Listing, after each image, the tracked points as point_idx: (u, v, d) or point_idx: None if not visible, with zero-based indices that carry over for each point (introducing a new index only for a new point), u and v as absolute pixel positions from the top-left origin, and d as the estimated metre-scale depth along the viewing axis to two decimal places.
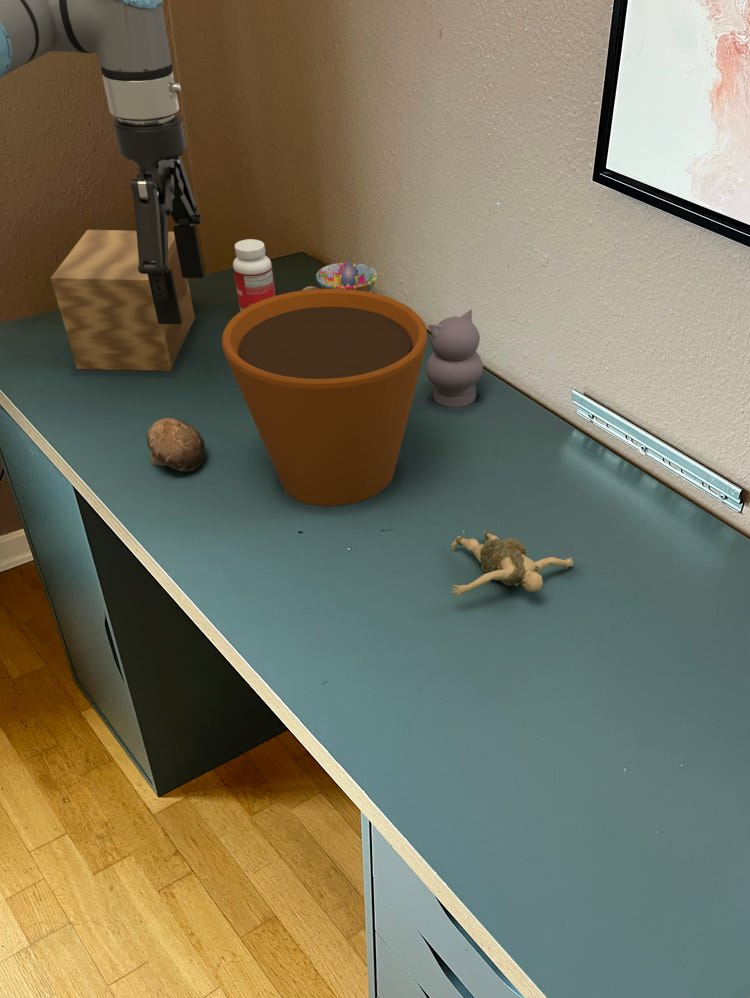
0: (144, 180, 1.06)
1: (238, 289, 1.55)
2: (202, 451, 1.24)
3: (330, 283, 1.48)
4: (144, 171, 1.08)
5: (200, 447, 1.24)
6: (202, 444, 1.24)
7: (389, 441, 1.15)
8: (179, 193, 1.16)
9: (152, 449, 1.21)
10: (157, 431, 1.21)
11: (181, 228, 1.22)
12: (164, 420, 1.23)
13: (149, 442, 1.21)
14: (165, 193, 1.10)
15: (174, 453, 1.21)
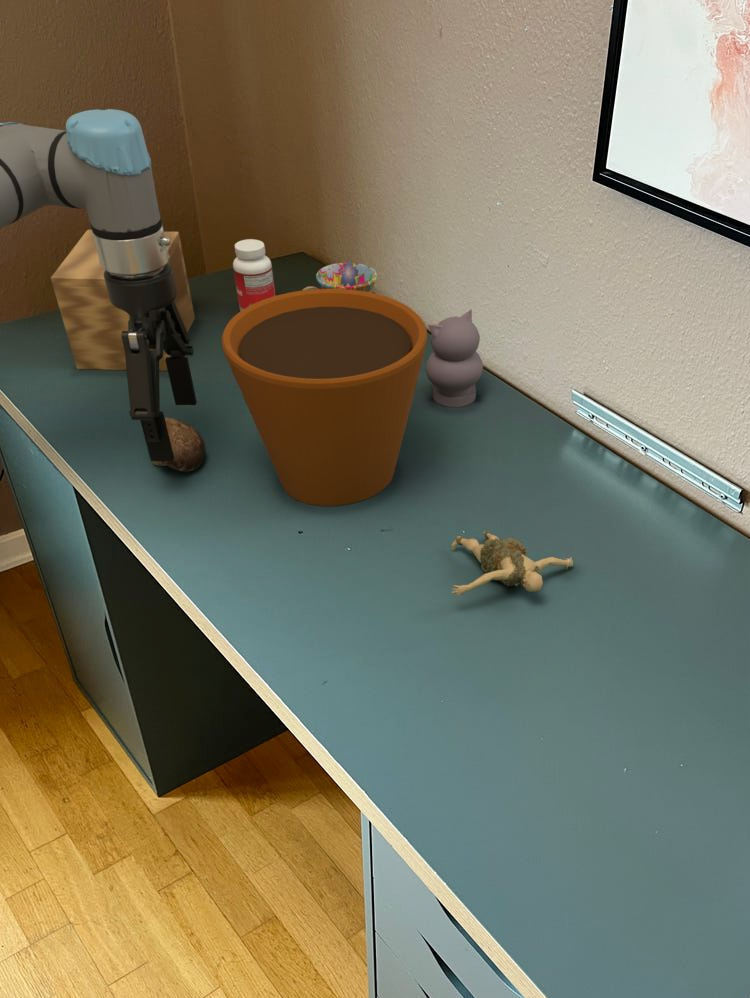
0: (135, 332, 1.07)
1: (238, 289, 1.55)
2: (202, 451, 1.24)
3: (330, 283, 1.48)
4: (135, 321, 1.08)
5: (200, 447, 1.24)
6: (202, 444, 1.24)
7: (389, 440, 1.15)
8: (171, 332, 1.16)
9: None
10: None
11: (173, 360, 1.23)
12: None
13: None
14: (156, 339, 1.11)
15: (174, 453, 1.21)
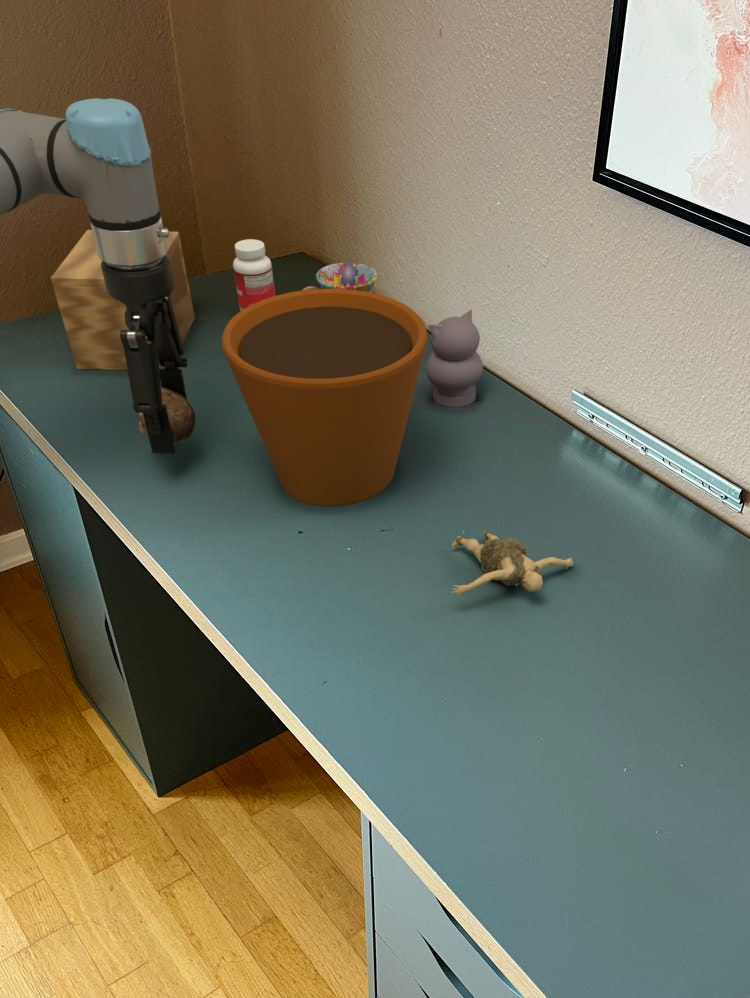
0: (133, 332, 1.06)
1: (238, 289, 1.55)
2: (193, 422, 1.21)
3: (330, 283, 1.48)
4: (131, 312, 1.08)
5: (191, 418, 1.21)
6: (193, 415, 1.22)
7: (389, 441, 1.15)
8: (166, 330, 1.15)
9: (141, 419, 1.18)
10: None
11: (167, 372, 1.21)
12: None
13: None
14: (154, 333, 1.11)
15: None
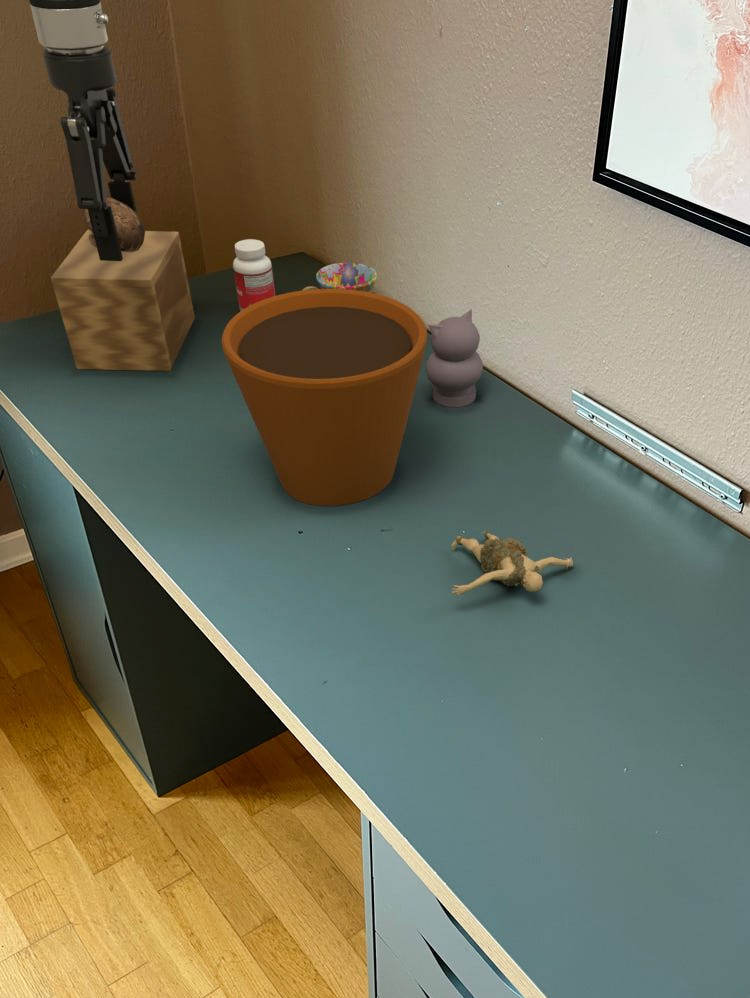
0: (73, 119, 1.09)
1: (238, 289, 1.55)
2: (141, 233, 1.23)
3: (330, 283, 1.48)
4: (73, 102, 1.10)
5: (139, 228, 1.23)
6: (141, 226, 1.24)
7: (389, 441, 1.15)
8: (112, 133, 1.17)
9: (89, 225, 1.20)
10: None
11: (116, 184, 1.23)
12: None
13: (86, 218, 1.20)
14: (97, 127, 1.13)
15: None
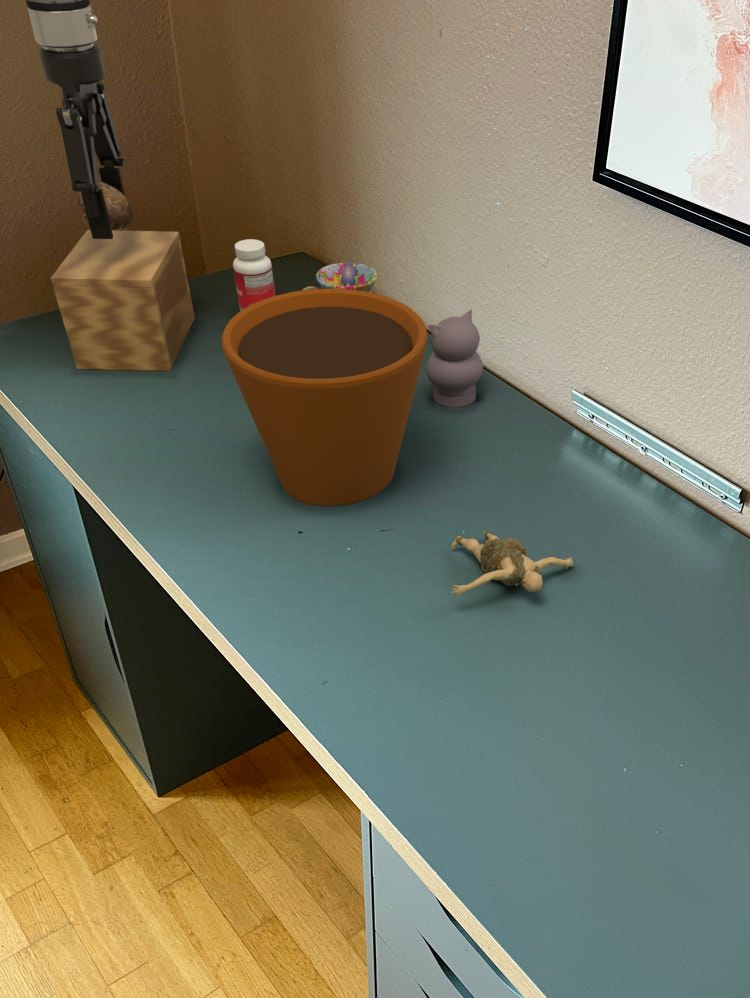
0: (67, 109, 1.21)
1: (238, 289, 1.55)
2: (130, 213, 1.36)
3: (330, 283, 1.48)
4: (67, 94, 1.23)
5: (128, 209, 1.36)
6: (130, 207, 1.36)
7: (389, 441, 1.15)
8: (101, 123, 1.30)
9: (82, 206, 1.33)
10: None
11: (106, 169, 1.36)
12: None
13: (80, 200, 1.33)
14: (88, 117, 1.26)
15: None
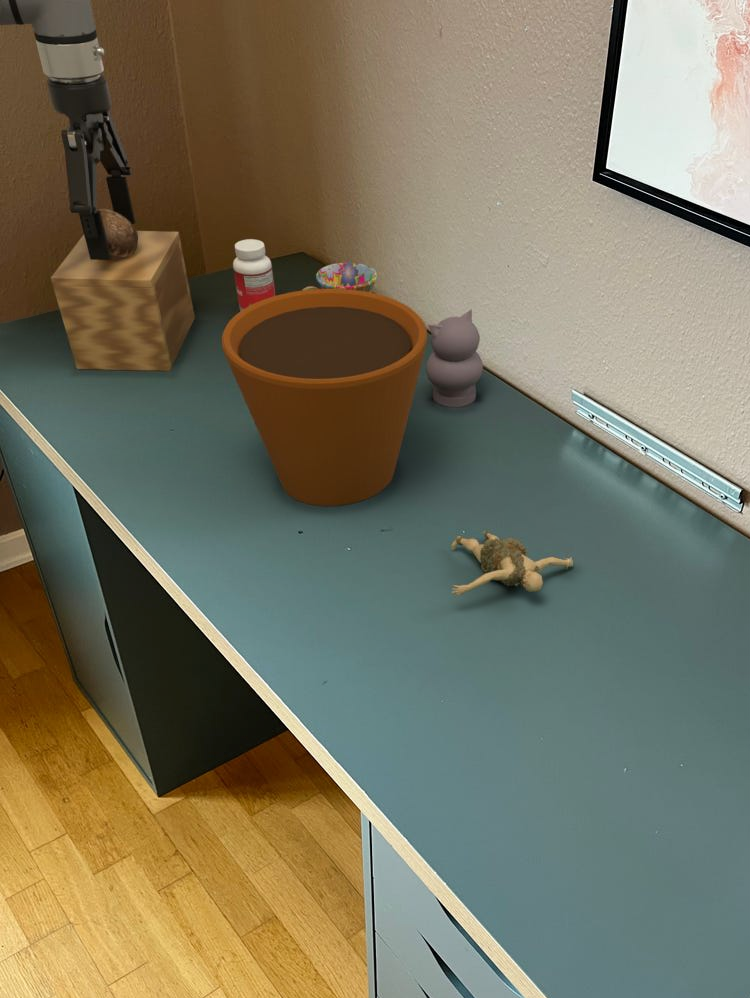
0: (73, 131, 1.23)
1: (238, 289, 1.55)
2: (135, 239, 1.39)
3: (330, 283, 1.48)
4: (74, 124, 1.25)
5: (133, 235, 1.38)
6: (135, 233, 1.39)
7: (389, 441, 1.15)
8: (108, 146, 1.33)
9: None
10: None
11: (113, 178, 1.39)
12: (100, 209, 1.37)
13: None
14: (93, 144, 1.28)
15: (108, 236, 1.35)
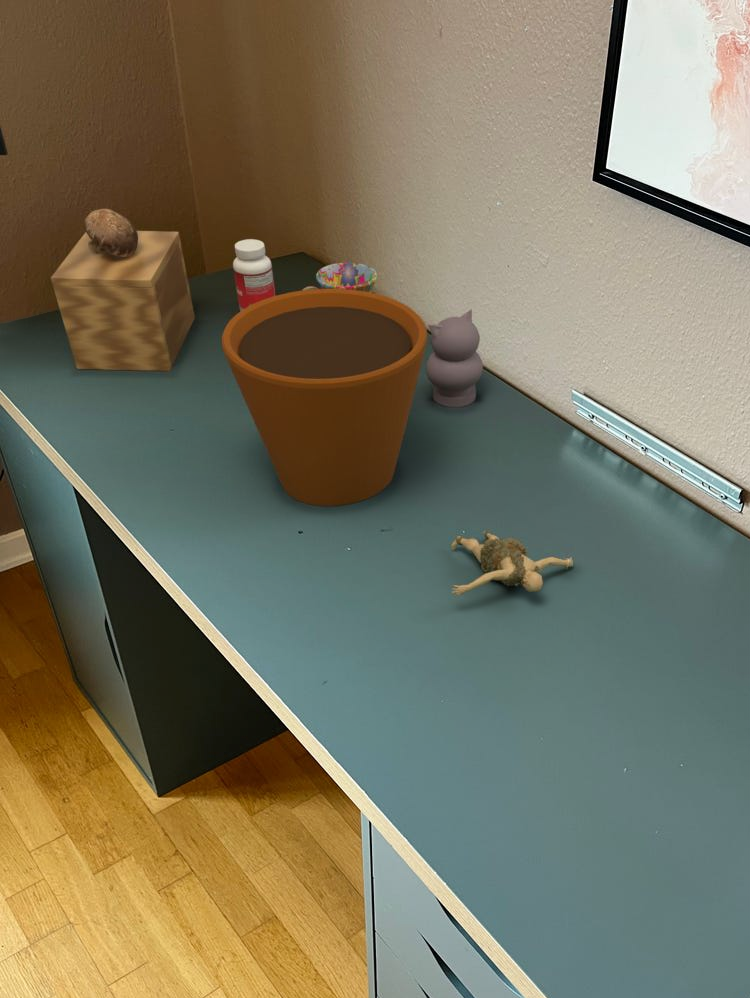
0: None
1: (238, 289, 1.55)
2: (135, 239, 1.39)
3: (330, 283, 1.48)
4: None
5: (133, 235, 1.38)
6: (135, 233, 1.39)
7: (389, 441, 1.15)
8: None
9: (88, 233, 1.36)
10: (93, 217, 1.36)
11: None
12: (100, 209, 1.37)
13: (86, 227, 1.36)
14: None
15: (108, 236, 1.35)
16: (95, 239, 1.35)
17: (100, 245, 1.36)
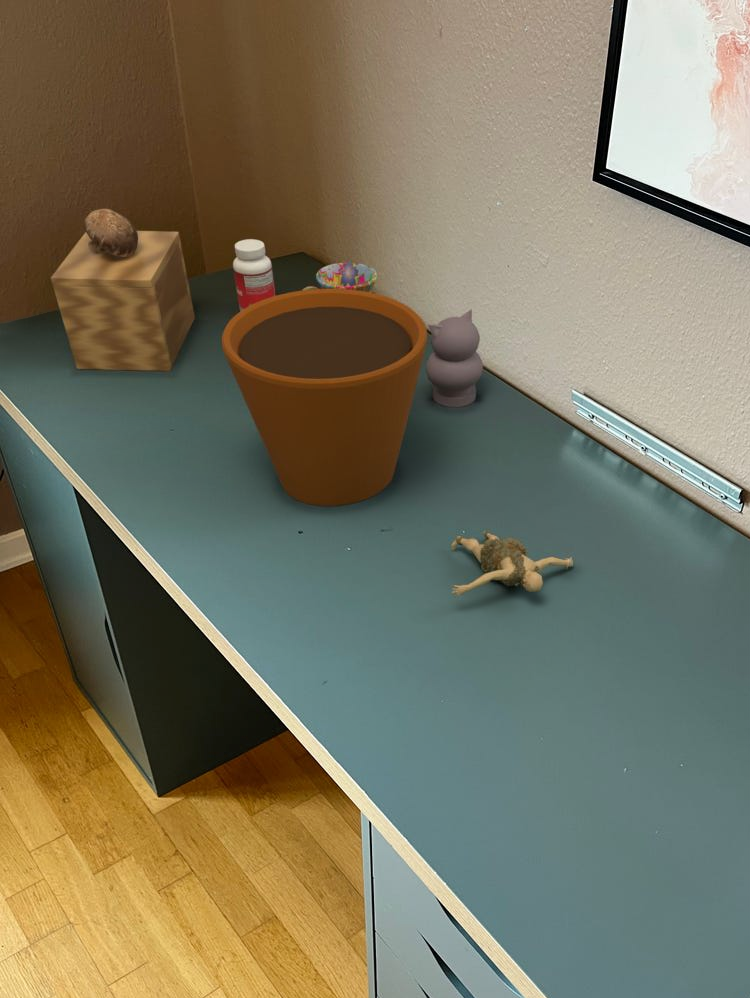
0: None
1: (238, 289, 1.55)
2: (135, 239, 1.39)
3: (330, 283, 1.48)
4: None
5: (133, 235, 1.38)
6: (135, 233, 1.39)
7: (389, 441, 1.15)
8: None
9: (88, 233, 1.36)
10: (93, 217, 1.36)
11: None
12: (100, 209, 1.37)
13: (86, 227, 1.36)
14: None
15: (108, 236, 1.35)
16: (95, 239, 1.35)
17: (100, 245, 1.36)
